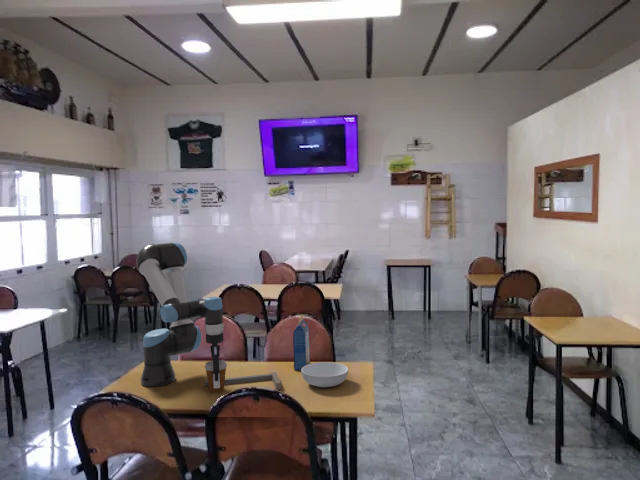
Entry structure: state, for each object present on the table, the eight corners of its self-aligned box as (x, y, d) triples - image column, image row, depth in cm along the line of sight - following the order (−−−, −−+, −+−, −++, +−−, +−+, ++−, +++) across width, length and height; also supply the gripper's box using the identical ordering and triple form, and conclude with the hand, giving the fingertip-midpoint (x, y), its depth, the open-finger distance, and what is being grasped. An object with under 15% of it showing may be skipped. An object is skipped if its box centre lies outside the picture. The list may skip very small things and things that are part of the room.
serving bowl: (345, 393, 203) (345, 377, 203) (296, 391, 207) (296, 375, 207) (351, 376, 224) (351, 362, 223) (307, 375, 228) (306, 360, 227)
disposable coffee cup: (208, 395, 205) (207, 367, 204) (203, 388, 213) (202, 361, 213) (230, 391, 209) (229, 364, 209) (224, 384, 218) (223, 358, 217)
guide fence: (205, 397, 202) (204, 390, 202) (205, 385, 218) (204, 378, 218) (280, 389, 210) (280, 382, 210) (275, 377, 225) (275, 371, 225)
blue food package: (293, 370, 235) (292, 319, 234) (297, 362, 247) (296, 314, 245) (306, 370, 234) (305, 319, 233) (310, 362, 246) (308, 314, 245)
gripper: (224, 338, 201) (226, 391, 202) (222, 326, 221) (224, 375, 222) (205, 339, 199) (207, 393, 200) (205, 328, 219) (207, 377, 221)
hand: (216, 384), depth 211 cm, fingers closed on disposable coffee cup, 8 cm apart
